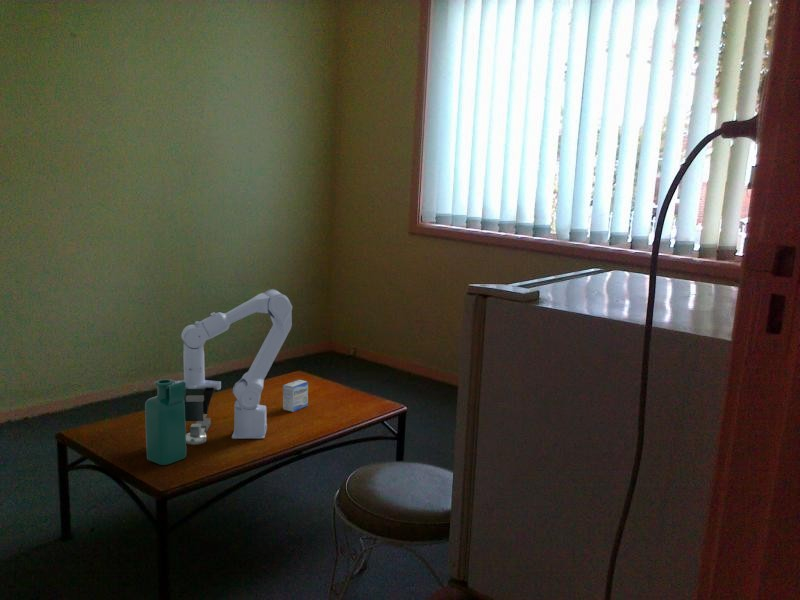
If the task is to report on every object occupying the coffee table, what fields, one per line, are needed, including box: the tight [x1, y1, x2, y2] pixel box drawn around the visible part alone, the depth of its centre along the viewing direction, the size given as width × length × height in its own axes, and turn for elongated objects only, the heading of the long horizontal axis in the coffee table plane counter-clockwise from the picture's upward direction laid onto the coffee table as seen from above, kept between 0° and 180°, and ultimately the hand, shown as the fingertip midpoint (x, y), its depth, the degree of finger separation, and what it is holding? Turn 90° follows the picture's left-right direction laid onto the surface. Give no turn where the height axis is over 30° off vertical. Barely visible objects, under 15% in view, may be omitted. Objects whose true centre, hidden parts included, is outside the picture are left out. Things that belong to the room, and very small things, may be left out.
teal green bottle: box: [144, 378, 187, 466], centre depth 191 cm, size 10×8×22 cm
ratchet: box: [186, 417, 212, 446], centre depth 211 cm, size 17×6×5 cm, turn 5°
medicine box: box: [282, 379, 309, 413], centre depth 236 cm, size 8×4×9 cm, turn 148°
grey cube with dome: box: [184, 394, 208, 422], centre depth 204 cm, size 6×6×6 cm
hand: (195, 413), depth 204 cm, fingers closed on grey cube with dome, 6 cm apart
